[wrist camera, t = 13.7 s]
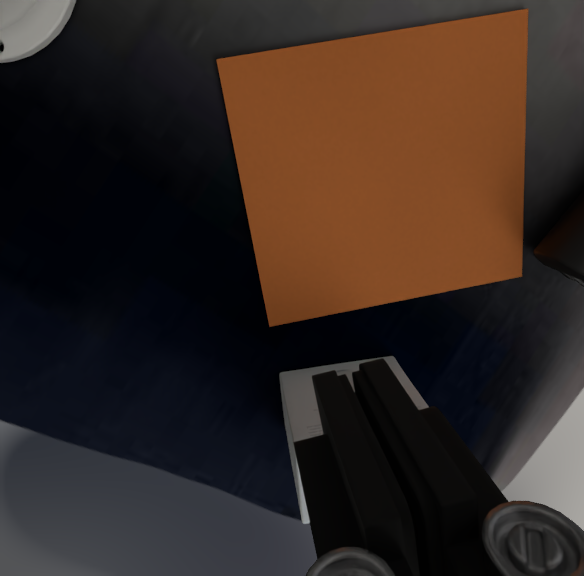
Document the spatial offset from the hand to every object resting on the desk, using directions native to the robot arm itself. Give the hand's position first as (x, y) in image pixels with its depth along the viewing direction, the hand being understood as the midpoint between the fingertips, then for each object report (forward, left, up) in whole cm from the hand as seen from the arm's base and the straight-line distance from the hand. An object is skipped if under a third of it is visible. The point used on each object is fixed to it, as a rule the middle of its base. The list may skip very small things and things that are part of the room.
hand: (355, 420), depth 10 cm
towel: (-2, +9, -25) cm, 26 cm away
